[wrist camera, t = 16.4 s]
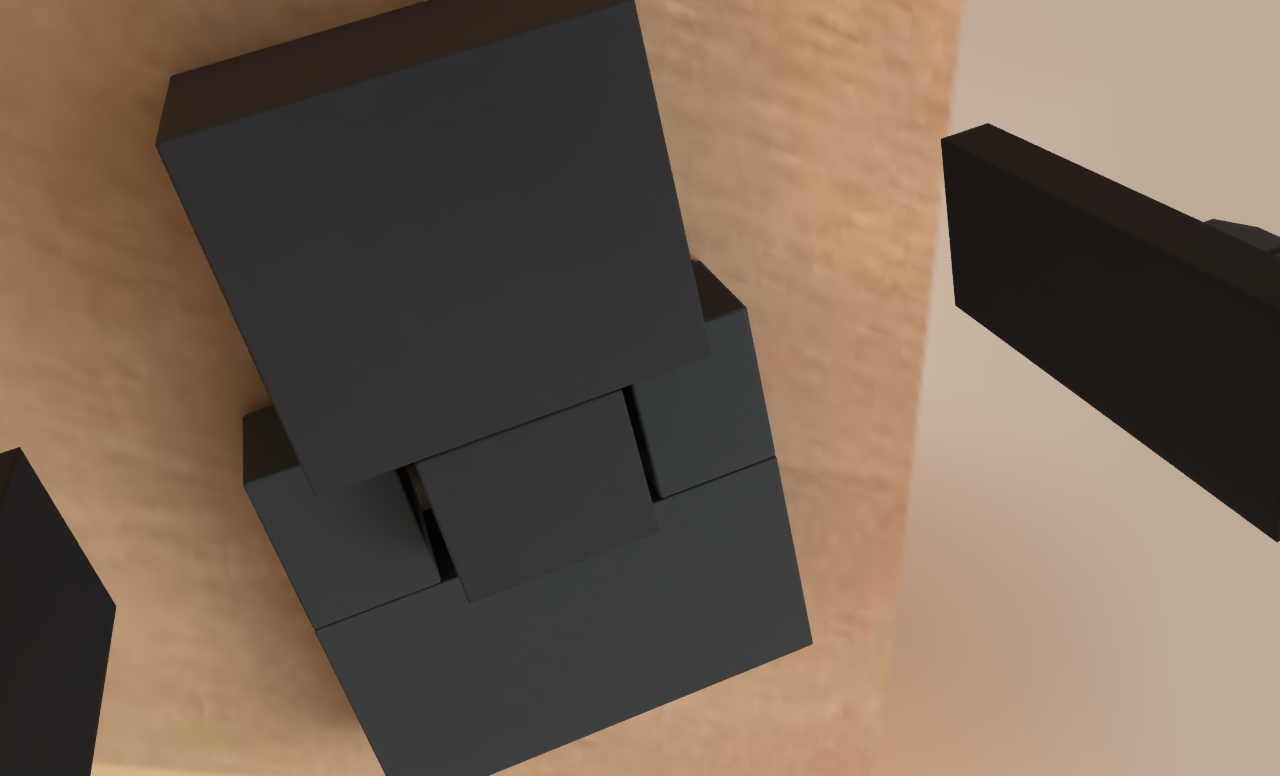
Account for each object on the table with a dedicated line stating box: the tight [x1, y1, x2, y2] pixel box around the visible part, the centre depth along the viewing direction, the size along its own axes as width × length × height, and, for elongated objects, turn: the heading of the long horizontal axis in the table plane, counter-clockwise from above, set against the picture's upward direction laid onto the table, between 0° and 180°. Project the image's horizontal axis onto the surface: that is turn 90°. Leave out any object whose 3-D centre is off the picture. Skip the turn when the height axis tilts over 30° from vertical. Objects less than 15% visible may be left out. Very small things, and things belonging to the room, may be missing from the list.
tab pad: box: [155, 0, 711, 603], centre depth 23 cm, size 8×11×5 cm
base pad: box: [243, 261, 813, 776], centre depth 28 cm, size 11×10×3 cm
